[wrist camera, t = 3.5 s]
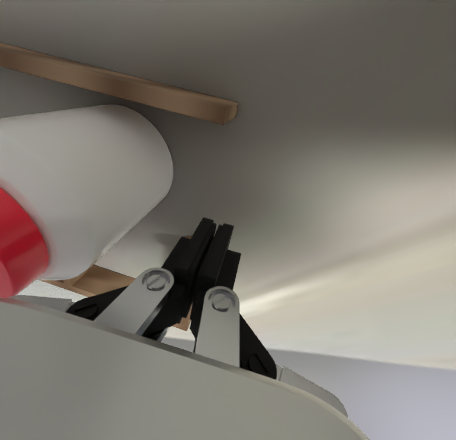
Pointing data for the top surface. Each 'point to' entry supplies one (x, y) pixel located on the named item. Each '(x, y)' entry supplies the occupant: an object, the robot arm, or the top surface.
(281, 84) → the top surface
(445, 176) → the top surface
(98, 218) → the pill bottle
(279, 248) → the top surface
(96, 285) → the wooden frame
